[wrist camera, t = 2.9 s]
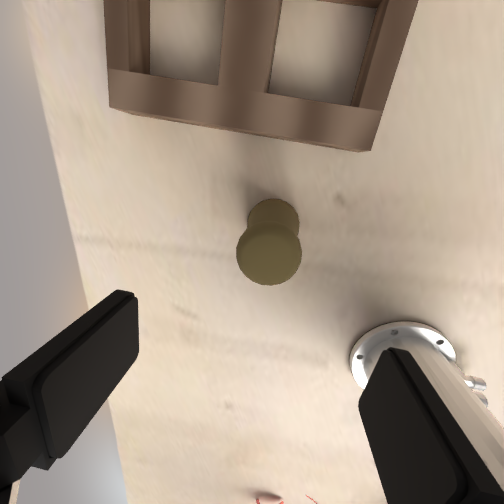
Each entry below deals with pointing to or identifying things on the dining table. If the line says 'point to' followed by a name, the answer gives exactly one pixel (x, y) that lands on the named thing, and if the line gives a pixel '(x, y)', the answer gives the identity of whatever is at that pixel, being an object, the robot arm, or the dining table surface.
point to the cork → (270, 243)
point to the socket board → (254, 76)
